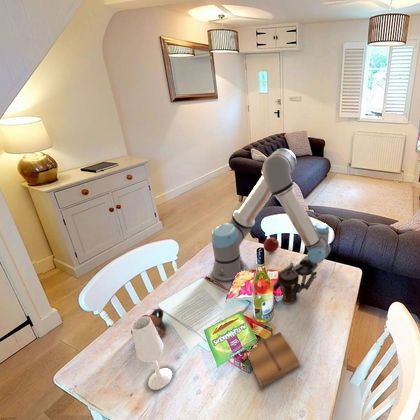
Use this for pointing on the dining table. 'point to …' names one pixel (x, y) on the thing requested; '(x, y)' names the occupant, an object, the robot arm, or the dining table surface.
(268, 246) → the apple
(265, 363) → the cardboard box
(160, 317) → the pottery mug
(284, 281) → the coffee cup
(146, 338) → the champagne flute
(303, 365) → the dining table surface
